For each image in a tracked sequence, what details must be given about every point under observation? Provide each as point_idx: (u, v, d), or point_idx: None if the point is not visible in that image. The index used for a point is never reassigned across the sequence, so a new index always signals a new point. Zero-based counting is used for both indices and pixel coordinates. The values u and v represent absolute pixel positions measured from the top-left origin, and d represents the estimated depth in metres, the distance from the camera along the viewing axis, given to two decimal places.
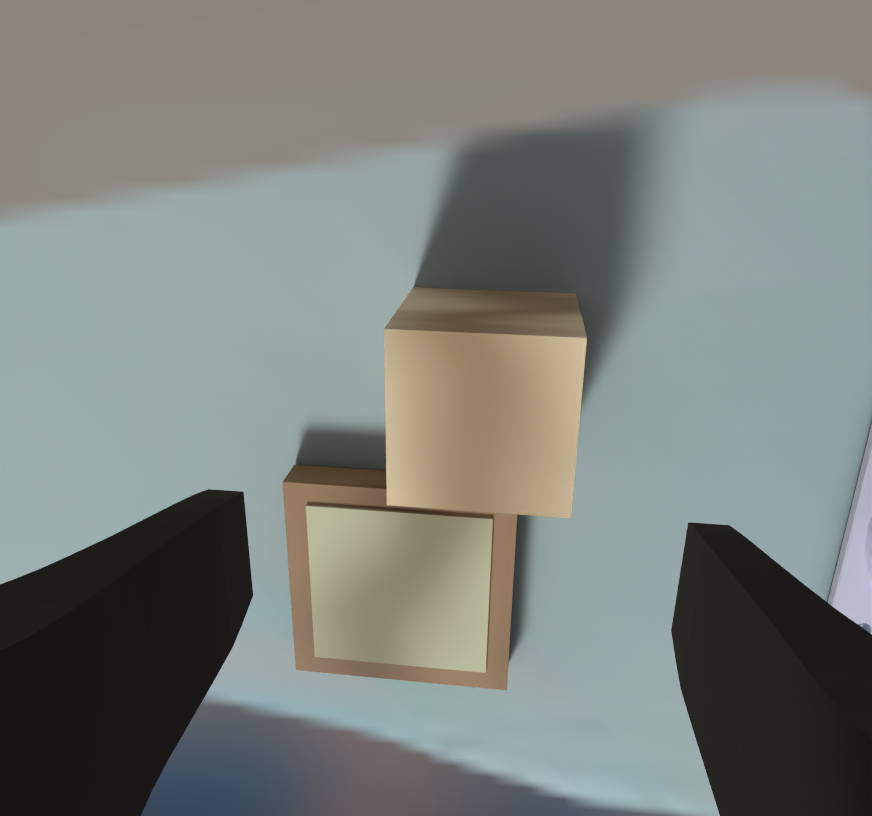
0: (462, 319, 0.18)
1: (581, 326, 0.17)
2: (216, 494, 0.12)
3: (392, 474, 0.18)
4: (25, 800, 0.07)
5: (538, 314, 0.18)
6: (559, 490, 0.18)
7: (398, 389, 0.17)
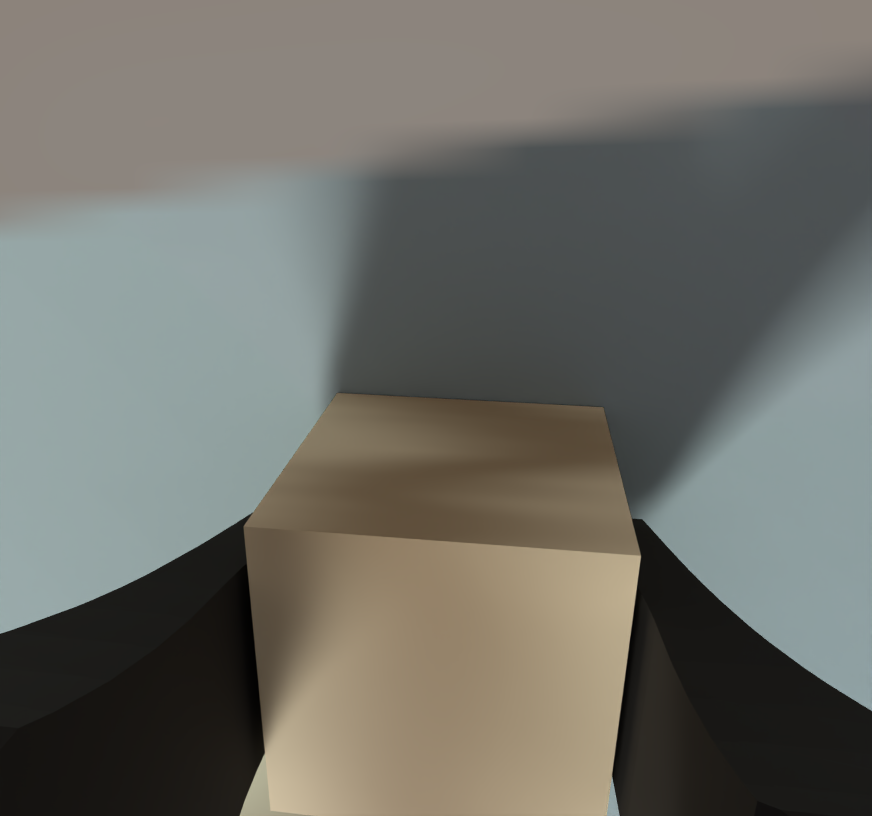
0: (401, 490, 0.09)
1: (624, 512, 0.09)
2: None
3: (277, 764, 0.10)
4: (150, 815, 0.07)
5: (542, 472, 0.10)
6: (581, 805, 0.10)
7: (278, 630, 0.09)
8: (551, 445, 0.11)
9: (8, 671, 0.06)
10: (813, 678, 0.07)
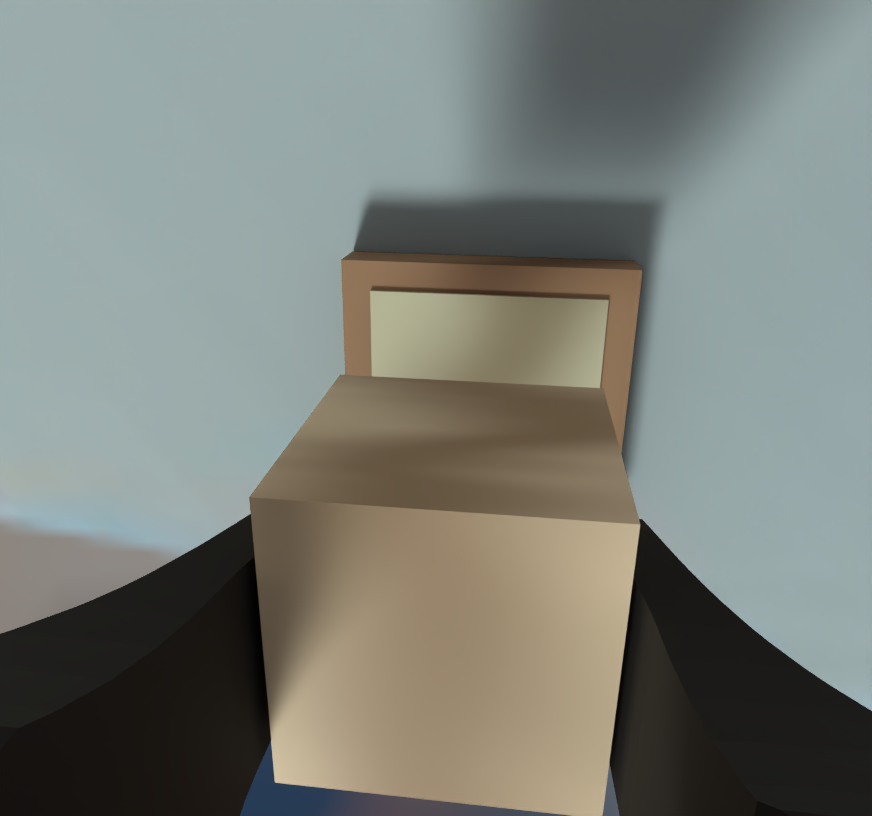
0: (404, 464, 0.10)
1: (624, 484, 0.09)
2: None
3: (281, 735, 0.10)
4: (150, 815, 0.07)
5: (543, 448, 0.10)
6: (582, 775, 0.10)
7: (283, 601, 0.09)
8: (552, 423, 0.11)
9: (8, 672, 0.06)
10: (813, 678, 0.07)
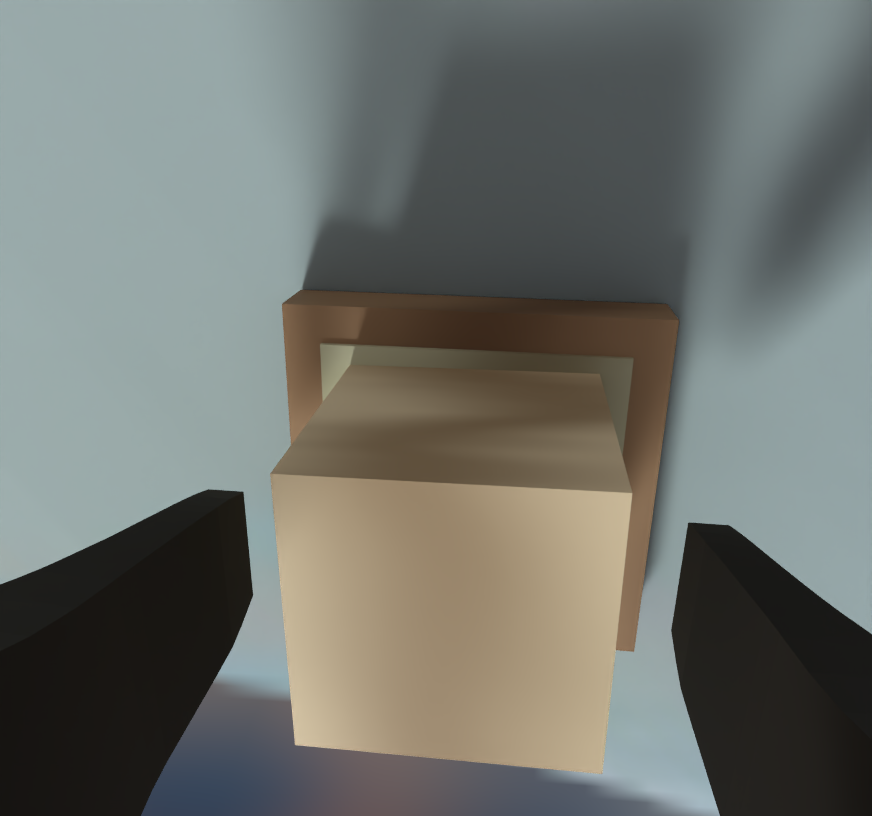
0: (413, 444, 0.10)
1: (618, 459, 0.10)
2: (216, 494, 0.12)
3: (301, 700, 0.11)
4: (25, 800, 0.07)
5: (542, 428, 0.11)
6: (582, 732, 0.10)
7: (302, 571, 0.10)
8: (551, 405, 0.12)
9: None
10: None
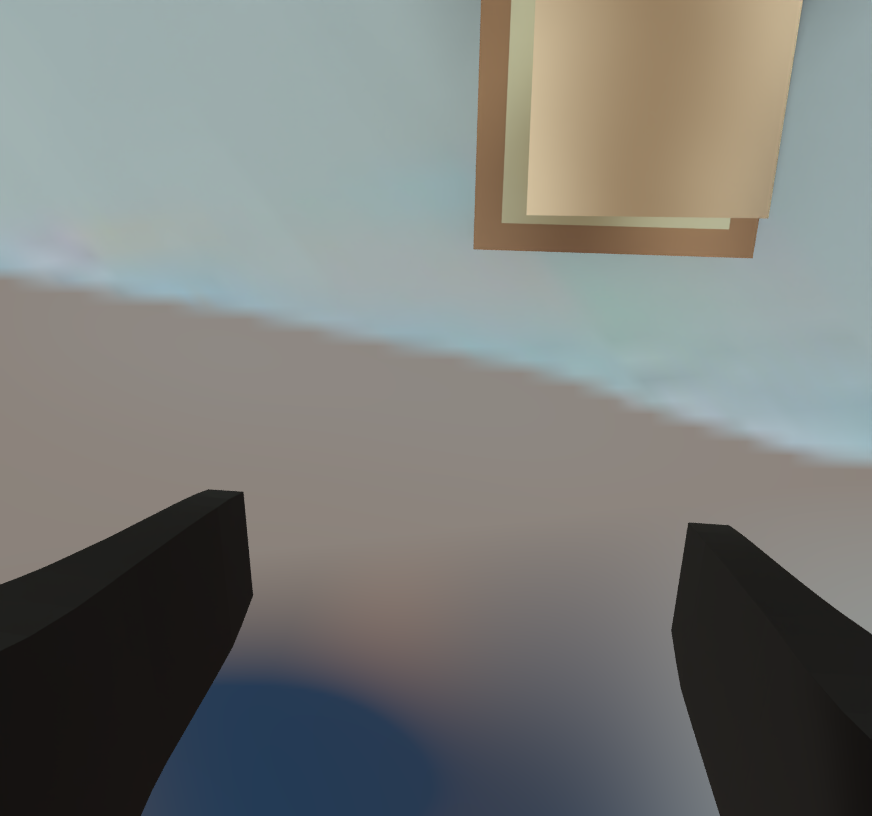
0: None
1: None
2: (216, 494, 0.12)
3: (536, 169, 0.14)
4: (25, 800, 0.07)
5: None
6: (756, 177, 0.14)
7: (552, 39, 0.13)
8: None
9: None
10: None
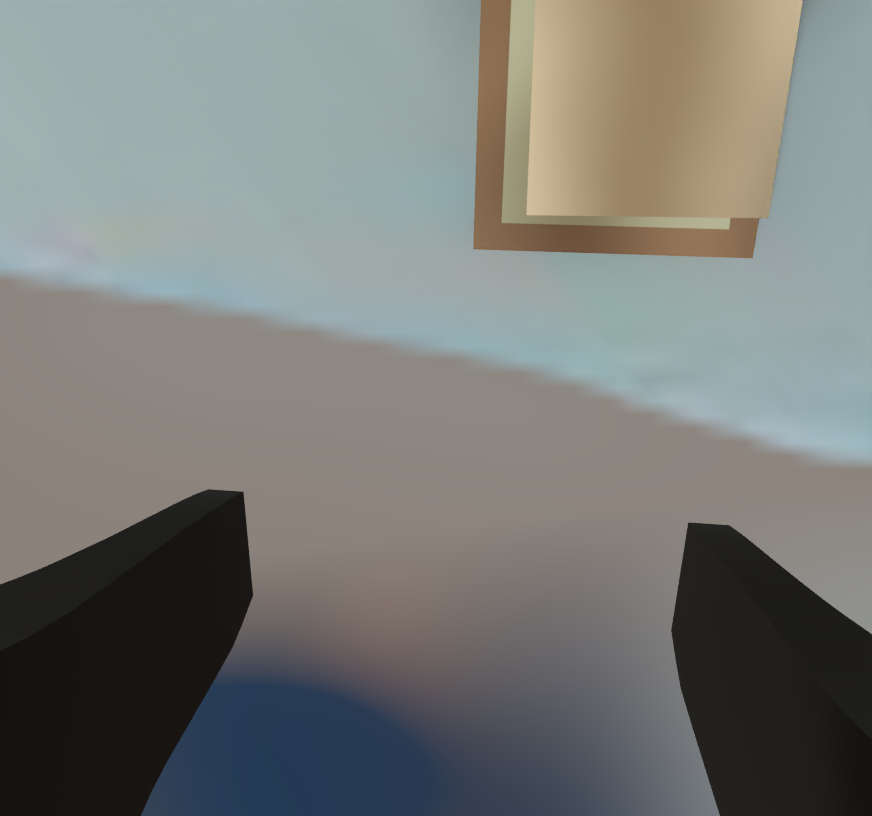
0: None
1: None
2: (216, 494, 0.12)
3: (536, 169, 0.14)
4: (24, 800, 0.07)
5: None
6: (756, 177, 0.14)
7: (551, 39, 0.13)
8: None
9: None
10: None
